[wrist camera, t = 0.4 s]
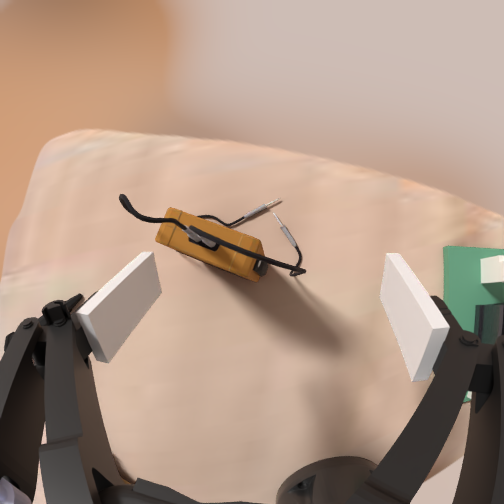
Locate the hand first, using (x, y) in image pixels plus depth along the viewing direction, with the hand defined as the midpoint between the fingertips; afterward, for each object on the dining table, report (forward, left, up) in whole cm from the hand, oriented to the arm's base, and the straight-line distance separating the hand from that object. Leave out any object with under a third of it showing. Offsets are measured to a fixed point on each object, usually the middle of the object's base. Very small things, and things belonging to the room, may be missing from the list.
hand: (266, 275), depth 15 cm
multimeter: (+6, +3, -17) cm, 18 cm away
